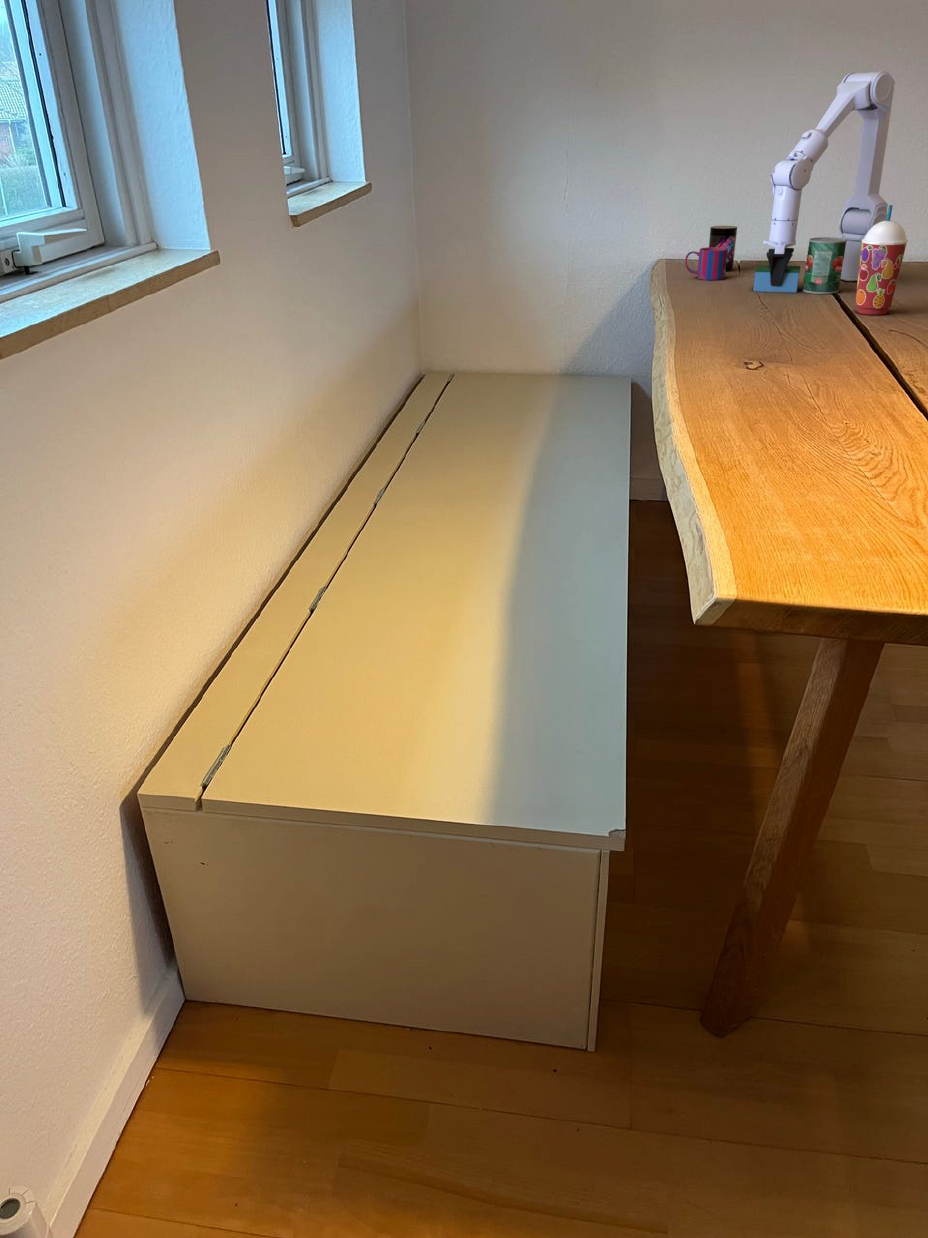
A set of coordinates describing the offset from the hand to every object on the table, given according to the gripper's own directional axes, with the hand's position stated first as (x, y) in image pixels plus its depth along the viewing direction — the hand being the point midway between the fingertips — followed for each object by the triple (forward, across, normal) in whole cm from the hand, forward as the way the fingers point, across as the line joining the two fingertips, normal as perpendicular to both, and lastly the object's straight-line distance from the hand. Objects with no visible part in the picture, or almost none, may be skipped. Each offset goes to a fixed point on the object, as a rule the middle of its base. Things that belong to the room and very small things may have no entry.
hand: (776, 283), depth 214 cm
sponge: (+1, 0, 0) cm, 1 cm away
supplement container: (+2, -28, -15) cm, 32 cm away
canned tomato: (+2, 0, +10) cm, 10 cm away
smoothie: (+2, +24, +20) cm, 31 cm away
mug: (+2, -14, -18) cm, 23 cm away
